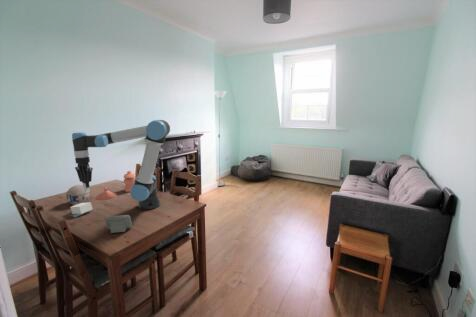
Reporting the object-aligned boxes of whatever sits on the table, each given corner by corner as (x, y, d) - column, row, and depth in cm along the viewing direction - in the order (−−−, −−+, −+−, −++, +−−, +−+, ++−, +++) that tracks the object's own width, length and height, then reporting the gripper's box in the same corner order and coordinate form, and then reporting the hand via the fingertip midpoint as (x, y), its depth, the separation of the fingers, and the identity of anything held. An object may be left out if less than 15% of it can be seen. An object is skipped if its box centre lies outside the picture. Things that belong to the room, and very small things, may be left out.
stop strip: (93, 210, 165) (93, 208, 165) (75, 217, 153) (75, 215, 153) (91, 209, 165) (91, 208, 165) (73, 217, 153) (73, 215, 153)
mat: (91, 210, 165) (90, 209, 165) (74, 217, 154) (74, 216, 154) (80, 208, 168) (80, 207, 168) (63, 214, 157) (63, 214, 157)
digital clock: (133, 226, 141) (132, 212, 140) (127, 233, 134) (126, 218, 132) (110, 226, 141) (109, 212, 140) (103, 233, 134) (102, 218, 132)
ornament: (71, 202, 180) (69, 183, 177) (93, 199, 185) (91, 181, 182) (64, 209, 166) (61, 189, 163) (88, 207, 171) (85, 187, 168)
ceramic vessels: (96, 205, 174) (93, 181, 170) (87, 198, 188) (84, 176, 184) (142, 193, 199) (140, 172, 196) (131, 188, 213) (129, 168, 210)
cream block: (90, 202, 160) (81, 202, 164) (79, 206, 153) (69, 207, 157) (92, 209, 161) (82, 209, 165) (81, 213, 154) (71, 214, 158)
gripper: (94, 156, 150) (99, 191, 154) (80, 155, 154) (85, 189, 159) (83, 158, 143) (89, 194, 148) (69, 157, 147) (74, 192, 152)
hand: (87, 192), depth 153 cm, fingers closed
